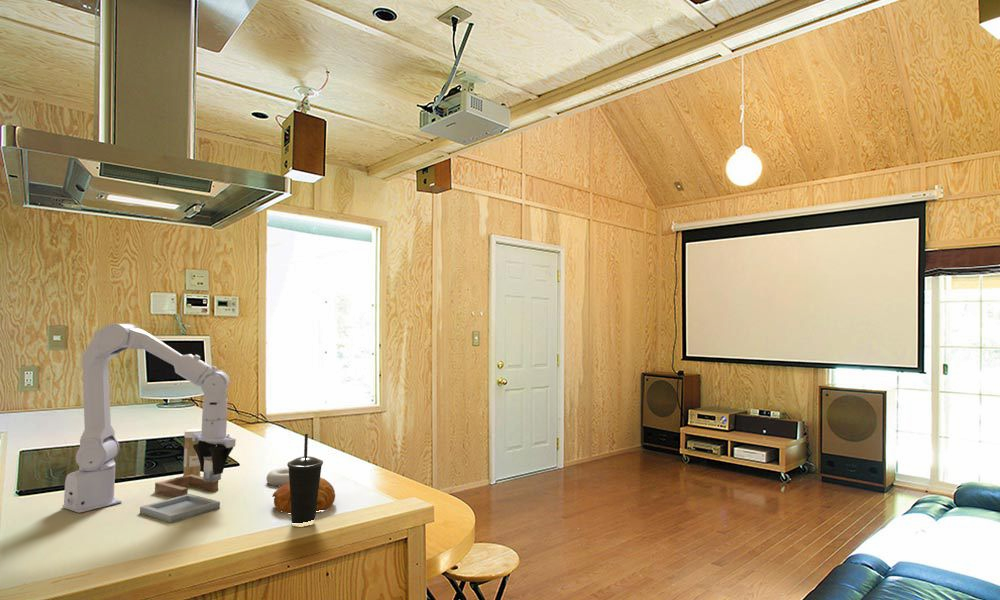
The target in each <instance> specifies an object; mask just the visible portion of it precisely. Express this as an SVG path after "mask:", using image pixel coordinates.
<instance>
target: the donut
mask: <svg viewBox="0 0 1000 600" xmlns="http://www.w3.org/2000/svg"><path fill="white" fill-rule="evenodd" d="M266 482H267V483H268V485H269V486H270V485H271V486H274V487H281V486H282V485H283V484H285V483H288V482H289V467H279V468H276V469H273V470H271V471H269V472H268V474H267V475H266Z"/></svg>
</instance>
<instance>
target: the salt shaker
mask: <svg viewBox="0 0 1000 600" xmlns="http://www.w3.org/2000/svg"><path fill="white" fill-rule="evenodd" d="M203 458H204V472H203V475H202V477H203V481H205V482H213V481H218V482H219V481H220V480H221V479H222V473H221V474H217V475H214V474H213V462H212V456H211V454H209V455H205V456H203Z"/></svg>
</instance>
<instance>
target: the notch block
mask: <svg viewBox="0 0 1000 600" xmlns="http://www.w3.org/2000/svg"><path fill="white" fill-rule="evenodd" d="M189 486H190V487H193V488H198V489H202V490H205V491H209V492H216V491H219V480H218V481H213V482H205V481H203V476H201V475H200V476H197V475H193V474H191V475H187V476H183V475H181V476H180V477H173V478H171V479H166V480H162V481H158V482H154V493H155V494H159V495H162V496H166V497H170V498H175V497H179V496H183V495H187V494H189V493H188V491H189V488H187V487H189Z"/></svg>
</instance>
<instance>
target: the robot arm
mask: <svg viewBox="0 0 1000 600" xmlns="http://www.w3.org/2000/svg"><path fill="white" fill-rule="evenodd" d="M92 337H93V338H92V339H91V340H90V343H88V345H87V347H86V349H85V350H84V352H83V354H82V358H81V359H82V360H81V361H82V362H81V364H82V390H83V391H82V392H83V417H84V422H83V423H84V430H83V432H82V435H81V436H80V438H79V448H78V450H77V451H76V454H75V461H76V464H77V465H78V467H79V469H77V470H76V471H73V472H70V473H68V474H67V475H66V477H65V481H64V494H63V495H64V497H63V498H64V499H63V505H61V507H62V508H63V509H67V510H69V511H72V512H76V513H85V512H88V511H93V510H96V509H102V508H105V507H107V506H112V505H117V504H120V503H122V502H123V501H122V499H119V498H114V497H115V485H116V484H115V480H116V462H115V460H114V459H115V458H116V457H117V455H118V454H119V453H120V452H119V451H120V443H119V442H118V440H117V439H116V436H115V435H116V433H115V429H114V428H113V427H112V425H111V401H110V400H111V399H110V396H111V395H110V373H109V372H110V370H109V363H110V361H112V359H113V358H115V357H117V355H118V354H120V353H121V352H123V351H126V350H127V349H129V350H130V349H131V350H144V351H146V352H148V353H149V354H152V355H153V356H155V357H157V358H159V359H160V360H163V361H164V362H166V363H167V364H170V365H171V366H173V368H174V373H175V374H177V375H178V376H180V377H182V378H183V379H185V380H187V381H189V382H190V383H192V384H194V385H195V386H198V387H200V389H201V390H202V392H203V401H202V411H201V412H202V416H201V417H202V418H201V429H202V431H201V433H200V432H199V433H193V438H192V441H199V443H198V444H194V445H193V448H194V449H195V451H196V453H197V455H198V458H199V462H200V472H202V473H204V458H203V456H205V455H209V454H211V456H212V462H213V474H214V475H217V474H221V475H222V474H223V472H224V469H225V466H226V462H227V461H228V457H230V454H231V453H232V451H233V449H234V447H236V440H237V439H236V438H233V437H231V436H230V433H227V426H228V423H227V422H228V403H229V402H228V388H229V387H230V385H231V379H230V376H229V375H228V374H227V373H226V372H225V371H224V370H222V369H218V367H217V366H215V365H212V366H211V365H210V364H208V363H206V362H205V361H203V360H201V356H200V355H199V354H194V355H193V354H192V353H187V354H181V353H180V352H179V351H177V350H175V349H174V348H172V347H171V346H169V345H168V344H166V343H165V342H164V341H162V340H160V339H159V338H157V337H155V336H154V335H153V334H151V333H150V332H147V331H146V330H145V329H142V328H140V327H138V328H137V327H136V326H135V325H134V324H131V323H129V322H128V323H127V322H126V323H125V322H123V323H115V322H114V323H108V324H105V325H104V326H102V327H100V328H99V329H98V330H96V331H95V332H94V333H93V336H92ZM217 369H218V370H217Z"/></svg>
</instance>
